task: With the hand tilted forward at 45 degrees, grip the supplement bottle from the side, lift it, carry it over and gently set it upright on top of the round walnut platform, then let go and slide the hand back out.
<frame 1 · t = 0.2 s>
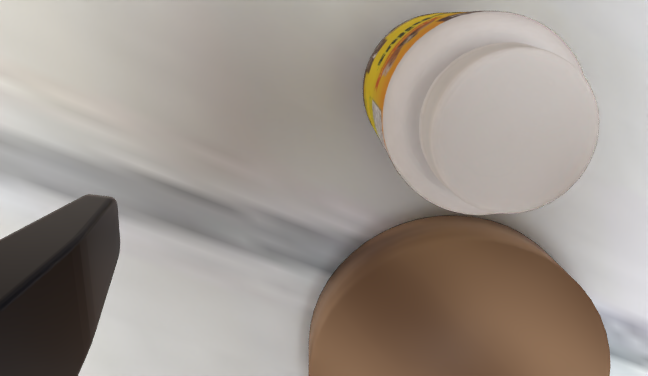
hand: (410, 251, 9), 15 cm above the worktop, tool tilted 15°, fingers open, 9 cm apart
walnut platform: (443, 343, 27), on the worktop
supplement bottle: (429, 85, 24), on the worktop
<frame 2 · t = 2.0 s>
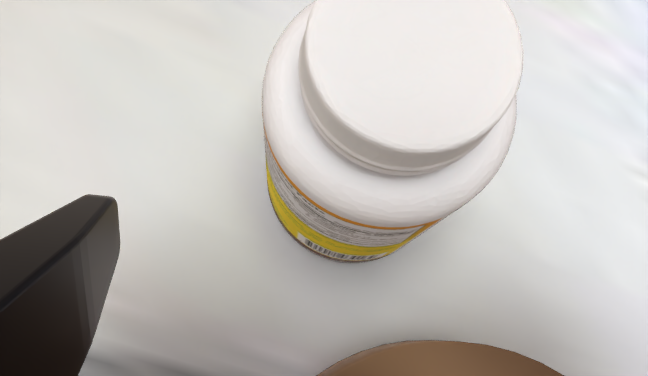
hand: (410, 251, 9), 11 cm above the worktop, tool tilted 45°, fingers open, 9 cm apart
supplement bottle: (347, 185, 21), on the worktop
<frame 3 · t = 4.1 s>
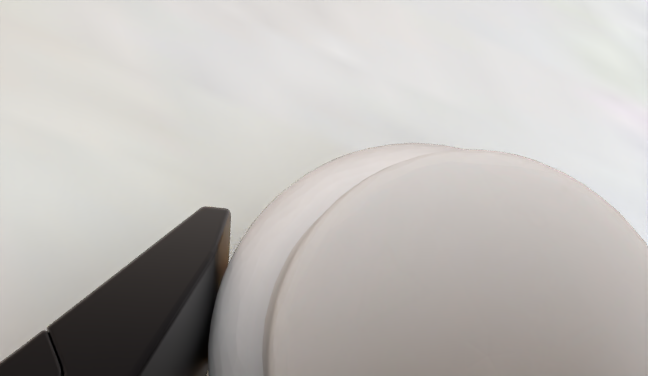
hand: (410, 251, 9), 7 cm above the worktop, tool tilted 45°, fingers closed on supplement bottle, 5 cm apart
supplement bottle: (349, 337, 15), on the worktop, touching gripper
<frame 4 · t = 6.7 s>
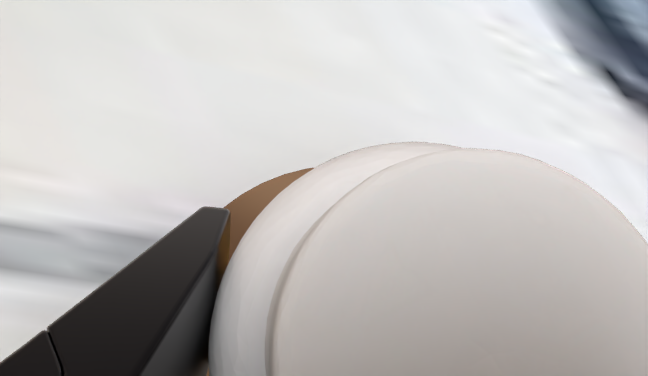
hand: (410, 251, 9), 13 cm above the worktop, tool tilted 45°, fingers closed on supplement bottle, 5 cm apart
walnut platform: (336, 347, 22), on the worktop
supplement bottle: (346, 335, 16), point 6 cm above the worktop, touching gripper
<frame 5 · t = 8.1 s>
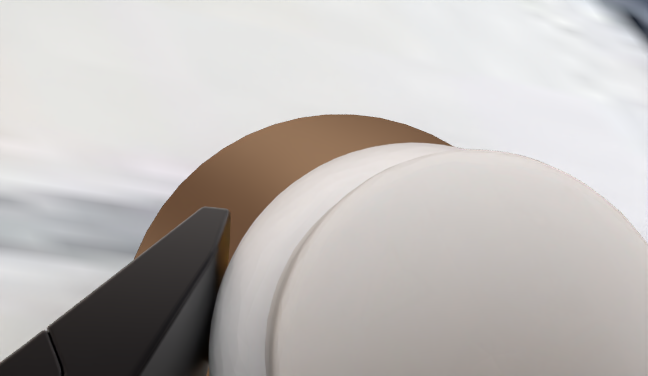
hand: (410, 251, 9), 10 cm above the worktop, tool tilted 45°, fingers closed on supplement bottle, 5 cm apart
walnut platform: (336, 325, 19), on the worktop
supplement bottle: (346, 335, 16), point 4 cm above the worktop, touching gripper
when the fingers open (10 cm above the worktop, at t = 9.3 s): supplement bottle stays where it is, resting on walnut platform.
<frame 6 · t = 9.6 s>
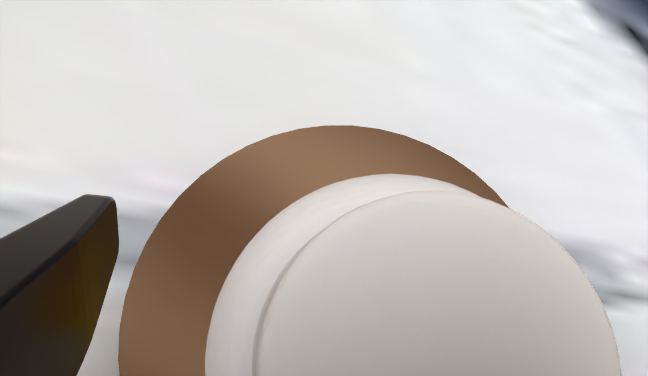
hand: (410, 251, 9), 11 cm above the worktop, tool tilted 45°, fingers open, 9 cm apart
walnut platform: (335, 334, 19), on the worktop
supplement bottle: (340, 343, 16), point 3 cm above the worktop, touching walnut platform
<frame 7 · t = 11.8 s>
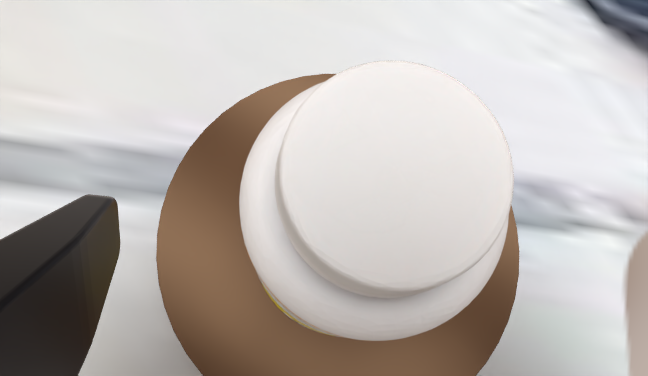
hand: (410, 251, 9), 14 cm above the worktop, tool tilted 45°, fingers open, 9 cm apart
walnut platform: (333, 253, 23), on the worktop
supplement bottle: (337, 249, 20), point 3 cm above the worktop, touching walnut platform
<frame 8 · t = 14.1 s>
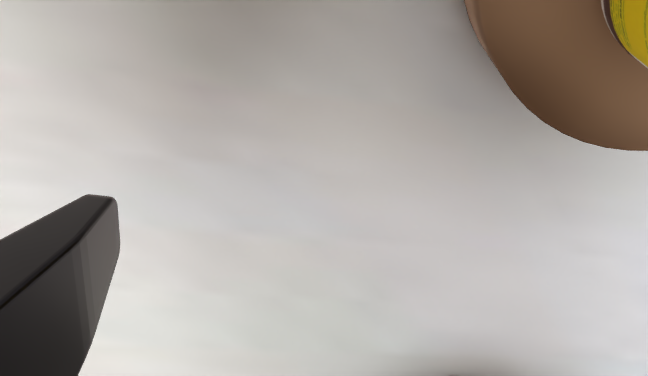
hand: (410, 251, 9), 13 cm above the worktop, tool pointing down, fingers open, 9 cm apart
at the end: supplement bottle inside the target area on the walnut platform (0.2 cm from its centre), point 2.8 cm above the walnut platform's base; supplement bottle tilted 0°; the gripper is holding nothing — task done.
